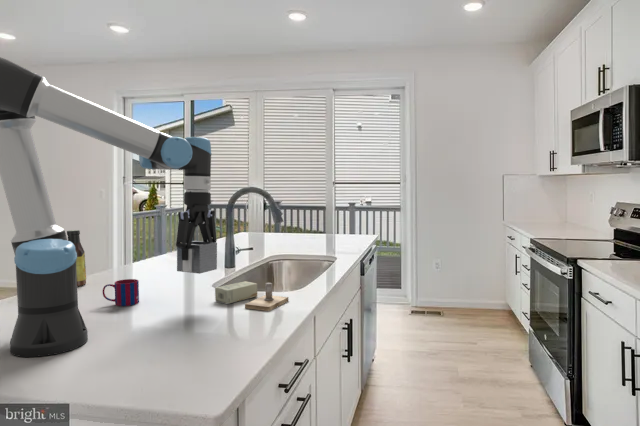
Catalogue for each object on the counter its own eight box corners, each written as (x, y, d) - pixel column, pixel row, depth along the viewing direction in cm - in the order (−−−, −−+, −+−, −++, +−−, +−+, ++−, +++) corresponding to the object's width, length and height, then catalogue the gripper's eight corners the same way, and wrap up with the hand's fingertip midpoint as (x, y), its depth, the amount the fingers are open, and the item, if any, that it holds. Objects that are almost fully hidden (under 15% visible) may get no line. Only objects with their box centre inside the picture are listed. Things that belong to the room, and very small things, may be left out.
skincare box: (227, 304, 137) (258, 296, 147) (226, 290, 137) (258, 283, 146) (214, 301, 142) (245, 293, 151) (214, 287, 141) (245, 280, 151)
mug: (137, 305, 137) (137, 282, 137) (101, 308, 135) (100, 285, 134) (140, 299, 144) (139, 278, 143) (105, 302, 141) (104, 280, 141)
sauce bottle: (90, 284, 166) (87, 229, 164) (72, 288, 160) (70, 231, 159) (79, 282, 169) (77, 229, 168) (62, 285, 164) (60, 230, 162)
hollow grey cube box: (199, 273, 129) (199, 245, 128) (177, 271, 132) (177, 243, 131) (216, 269, 136) (216, 242, 136) (195, 267, 139) (195, 240, 139)
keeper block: (268, 311, 130) (268, 289, 130) (244, 308, 133) (244, 287, 133) (288, 301, 141) (288, 281, 141) (265, 298, 144) (265, 279, 144)
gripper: (183, 191, 122) (183, 276, 123) (229, 191, 141) (228, 265, 142) (161, 190, 125) (161, 273, 126) (209, 191, 144) (208, 263, 145)
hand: (197, 269), depth 134 cm, fingers closed on hollow grey cube box, 8 cm apart
